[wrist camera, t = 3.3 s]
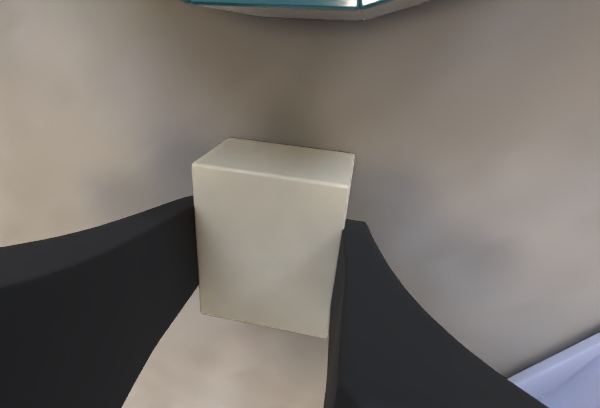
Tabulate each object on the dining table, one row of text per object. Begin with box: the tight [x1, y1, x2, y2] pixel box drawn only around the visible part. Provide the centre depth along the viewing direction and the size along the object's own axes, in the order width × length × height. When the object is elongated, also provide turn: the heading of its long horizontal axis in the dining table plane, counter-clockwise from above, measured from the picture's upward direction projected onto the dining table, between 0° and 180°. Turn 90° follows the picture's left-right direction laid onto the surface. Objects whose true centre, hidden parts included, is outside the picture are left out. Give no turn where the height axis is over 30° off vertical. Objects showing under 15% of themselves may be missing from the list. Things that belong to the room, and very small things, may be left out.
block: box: [192, 138, 355, 338], centre depth 11 cm, size 4×5×3 cm
